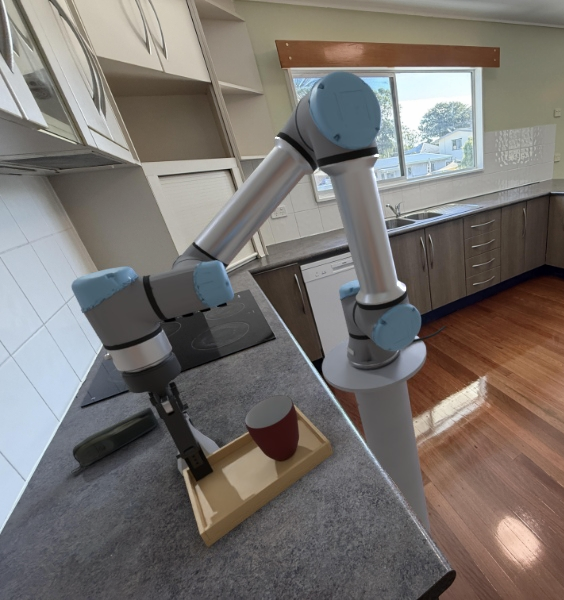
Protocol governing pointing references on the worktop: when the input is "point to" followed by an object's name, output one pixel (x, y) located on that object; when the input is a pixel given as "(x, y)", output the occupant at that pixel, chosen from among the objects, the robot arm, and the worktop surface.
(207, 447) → the flask
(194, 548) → the worktop surface
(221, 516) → the tray
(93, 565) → the worktop surface
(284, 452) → the mug
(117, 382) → the worktop surface
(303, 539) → the worktop surface
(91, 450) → the dark green pencil case
